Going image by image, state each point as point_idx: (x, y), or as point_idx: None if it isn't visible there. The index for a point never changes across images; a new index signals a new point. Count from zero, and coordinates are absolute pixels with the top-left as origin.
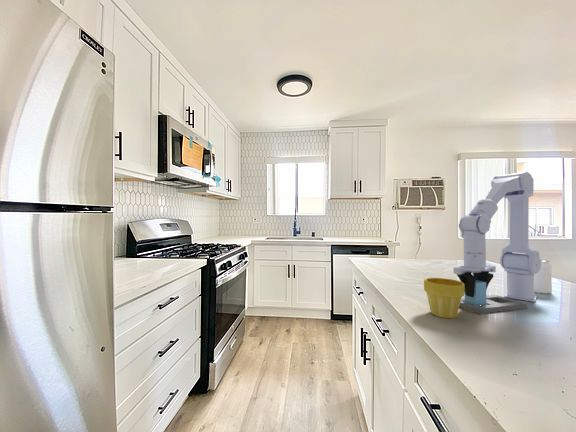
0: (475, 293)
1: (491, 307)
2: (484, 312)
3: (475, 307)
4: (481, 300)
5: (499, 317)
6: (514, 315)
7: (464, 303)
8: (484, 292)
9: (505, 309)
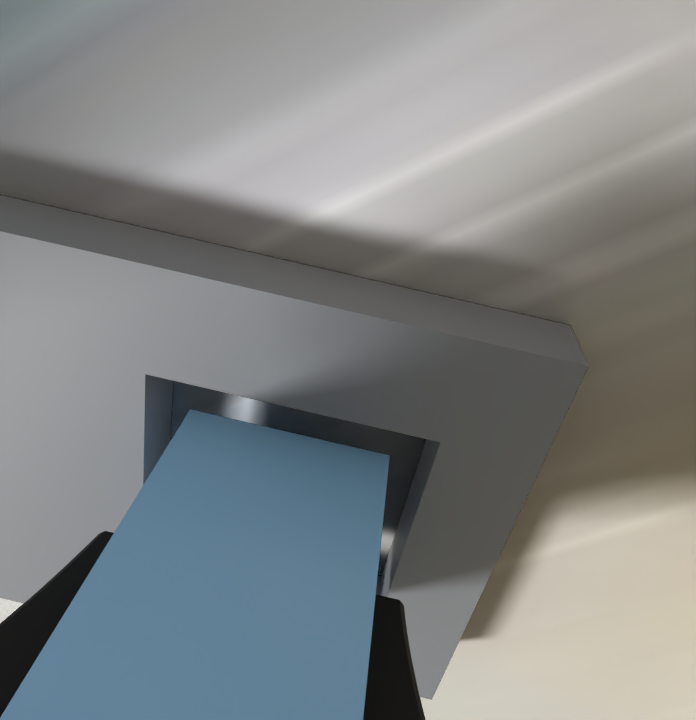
0: (371, 631)
1: (299, 299)
2: (457, 303)
3: (542, 419)
4: (268, 483)
5: (452, 81)
6: (101, 9)
7: (468, 563)
8: (144, 577)
9: (21, 209)
